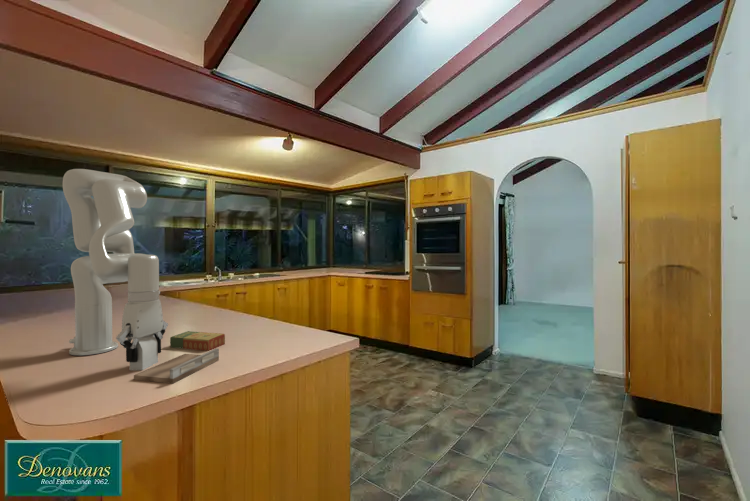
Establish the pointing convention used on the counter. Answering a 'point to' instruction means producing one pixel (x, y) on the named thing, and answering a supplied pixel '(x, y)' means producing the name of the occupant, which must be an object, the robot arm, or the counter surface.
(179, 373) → the shelf board
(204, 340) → the carton
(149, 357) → the tea bag
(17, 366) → the counter surface
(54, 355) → the counter surface
